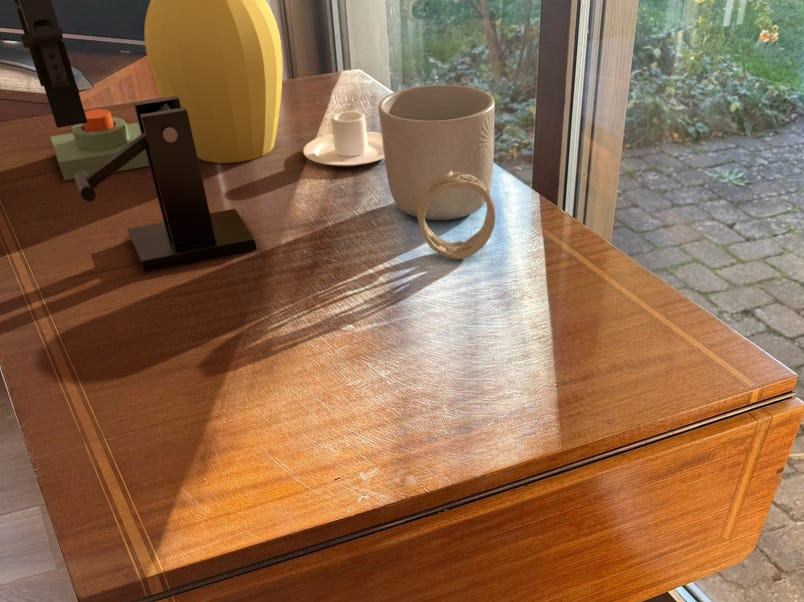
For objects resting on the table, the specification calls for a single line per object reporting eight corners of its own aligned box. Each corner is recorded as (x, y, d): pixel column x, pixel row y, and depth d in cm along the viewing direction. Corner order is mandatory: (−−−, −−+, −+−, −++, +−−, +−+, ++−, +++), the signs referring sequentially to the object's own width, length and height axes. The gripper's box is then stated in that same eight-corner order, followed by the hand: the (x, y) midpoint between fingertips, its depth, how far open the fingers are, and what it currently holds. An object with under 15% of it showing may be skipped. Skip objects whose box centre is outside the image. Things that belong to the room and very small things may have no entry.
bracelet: (497, 258, 102) (496, 178, 96) (421, 263, 102) (415, 184, 96) (493, 241, 105) (491, 163, 99) (419, 247, 104) (413, 169, 99)
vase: (178, 179, 120) (111, -105, 100) (164, 137, 131) (101, -128, 111) (308, 160, 123) (267, -119, 103) (283, 120, 134) (243, -139, 114)
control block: (64, 180, 121) (53, 146, 118) (55, 154, 127) (44, 121, 124) (162, 163, 124) (154, 129, 121) (148, 139, 130) (140, 106, 127)
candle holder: (372, 176, 119) (369, 138, 116) (286, 165, 122) (280, 128, 119) (413, 142, 127) (411, 106, 124) (331, 133, 130) (327, 97, 127)
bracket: (144, 272, 102) (104, 130, 92) (130, 239, 108) (91, 102, 98) (257, 249, 105) (230, 109, 95) (237, 219, 111) (210, 84, 101)
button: (86, 135, 121) (82, 120, 120) (83, 126, 124) (78, 111, 122) (116, 131, 122) (112, 115, 121) (112, 122, 125) (107, 107, 123)
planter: (393, 234, 107) (383, 126, 99) (383, 191, 116) (373, 89, 108) (504, 223, 108) (503, 116, 100) (486, 181, 117) (484, 80, 109)
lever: (91, 208, 98) (73, 188, 96) (84, 191, 101) (67, 171, 99) (188, 135, 97) (172, 113, 95) (178, 120, 100) (163, 99, 99)
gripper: (38, -177, 71) (123, 136, 86) (9, -205, 87) (85, 62, 102) (-72, -168, 69) (35, 151, 84) (-81, -198, 85) (10, 74, 100)
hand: (63, 103), depth 93 cm, fingers open, 13 cm apart
